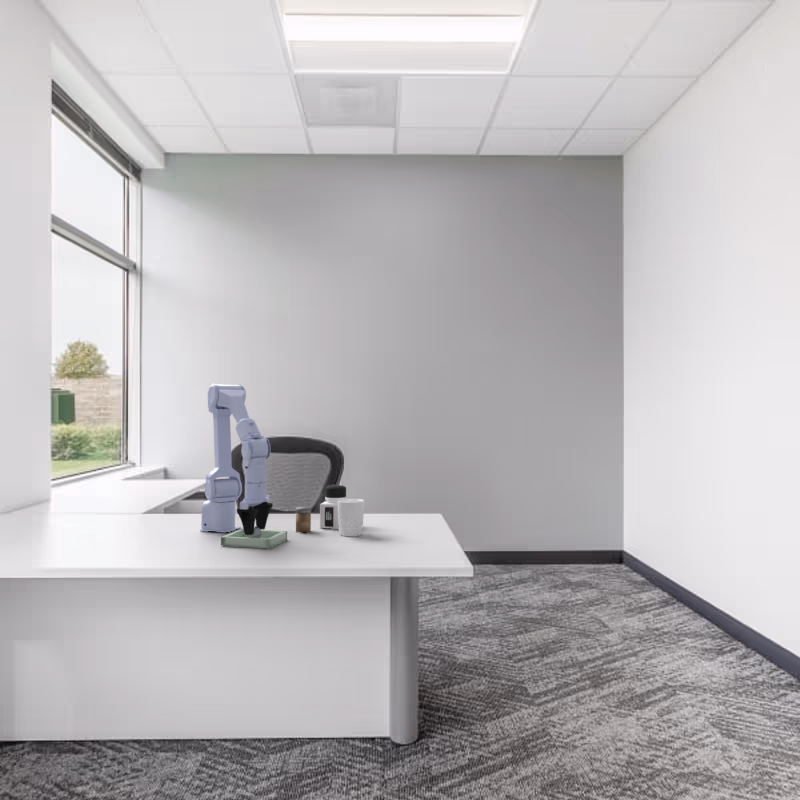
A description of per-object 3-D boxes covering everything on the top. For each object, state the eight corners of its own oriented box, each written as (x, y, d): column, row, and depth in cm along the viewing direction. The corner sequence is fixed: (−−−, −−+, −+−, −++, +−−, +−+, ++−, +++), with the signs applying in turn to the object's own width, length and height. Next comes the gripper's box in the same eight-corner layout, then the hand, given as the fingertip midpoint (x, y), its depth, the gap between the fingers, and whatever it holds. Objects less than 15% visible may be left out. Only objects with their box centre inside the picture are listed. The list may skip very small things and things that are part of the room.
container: (343, 529, 195) (344, 487, 195) (319, 528, 196) (320, 486, 197) (350, 525, 202) (351, 484, 203) (327, 524, 204) (327, 483, 204)
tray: (220, 546, 171) (220, 537, 171) (241, 537, 182) (241, 528, 182) (269, 548, 168) (269, 539, 168) (287, 539, 179) (287, 531, 179)
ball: (245, 543, 174) (243, 531, 172) (252, 534, 177) (249, 522, 176) (258, 544, 173) (256, 532, 171) (265, 536, 176) (263, 524, 175)
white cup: (331, 534, 188) (332, 500, 188) (351, 530, 194) (351, 497, 194) (349, 538, 182) (350, 503, 182) (369, 534, 188) (369, 500, 188)
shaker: (293, 532, 190) (293, 508, 190) (298, 529, 194) (299, 506, 194) (307, 533, 189) (308, 509, 189) (313, 530, 193) (313, 507, 193)
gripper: (257, 486, 167) (257, 537, 167) (279, 479, 181) (279, 527, 181) (232, 485, 169) (232, 536, 169) (256, 479, 183) (256, 526, 183)
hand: (254, 531), depth 175 cm, fingers open, 7 cm apart
